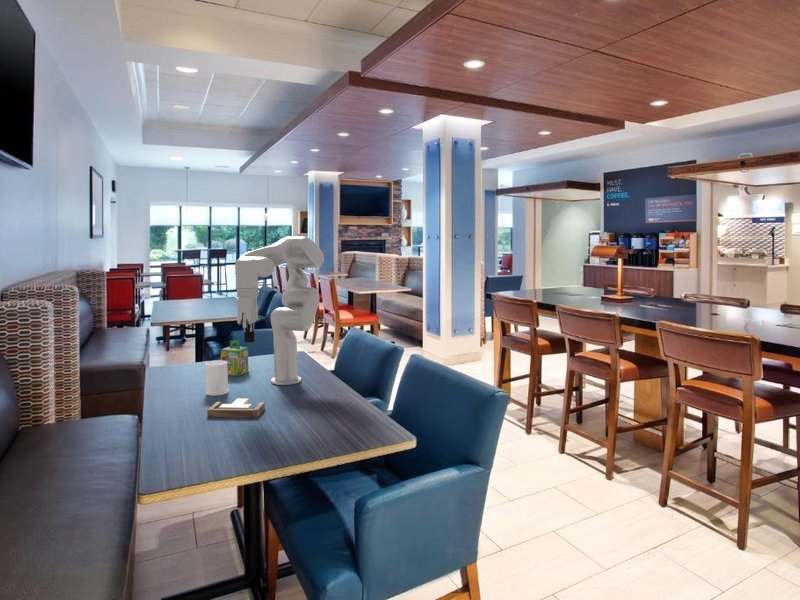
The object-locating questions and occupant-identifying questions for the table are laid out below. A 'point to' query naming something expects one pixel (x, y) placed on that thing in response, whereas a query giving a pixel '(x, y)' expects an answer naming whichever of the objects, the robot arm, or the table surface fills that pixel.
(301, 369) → the table surface
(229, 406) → the t block
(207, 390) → the mug
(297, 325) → the robot arm
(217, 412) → the brown u-shaped bracket
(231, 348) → the chalk box
